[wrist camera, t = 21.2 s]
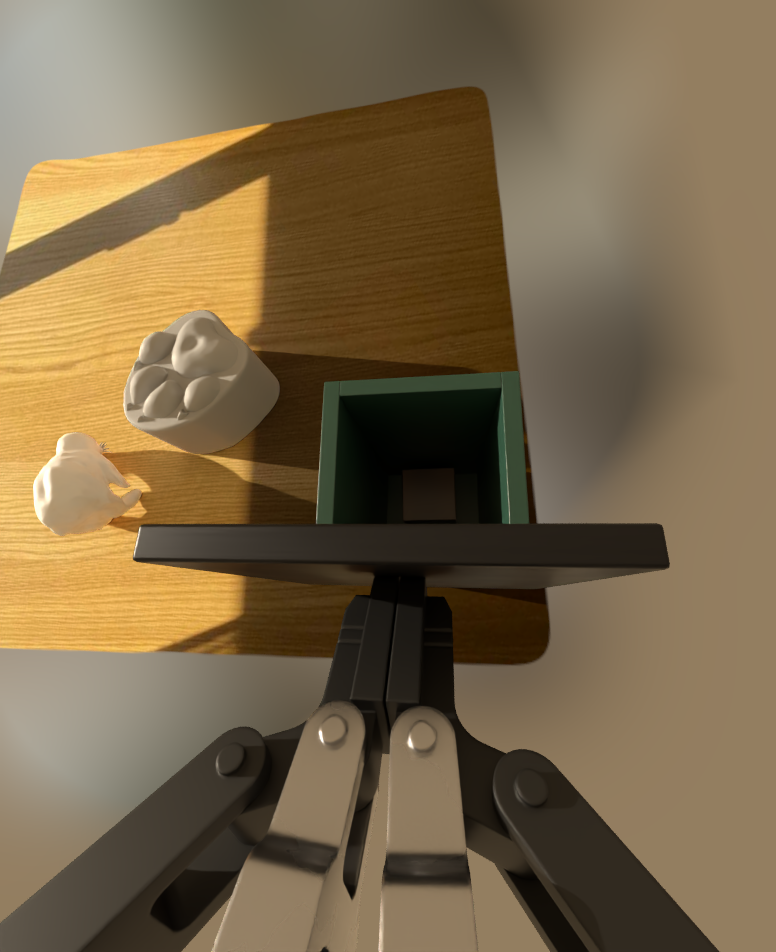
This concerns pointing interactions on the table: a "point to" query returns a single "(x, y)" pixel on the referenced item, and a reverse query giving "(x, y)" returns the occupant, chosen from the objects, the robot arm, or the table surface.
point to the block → (429, 496)
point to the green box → (422, 446)
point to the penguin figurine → (80, 488)
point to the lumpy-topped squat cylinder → (198, 386)
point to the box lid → (410, 552)
